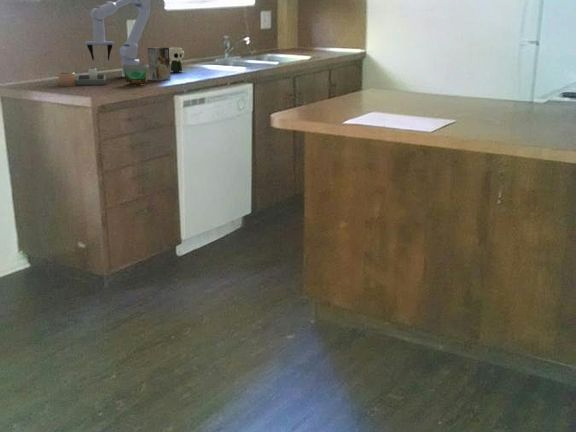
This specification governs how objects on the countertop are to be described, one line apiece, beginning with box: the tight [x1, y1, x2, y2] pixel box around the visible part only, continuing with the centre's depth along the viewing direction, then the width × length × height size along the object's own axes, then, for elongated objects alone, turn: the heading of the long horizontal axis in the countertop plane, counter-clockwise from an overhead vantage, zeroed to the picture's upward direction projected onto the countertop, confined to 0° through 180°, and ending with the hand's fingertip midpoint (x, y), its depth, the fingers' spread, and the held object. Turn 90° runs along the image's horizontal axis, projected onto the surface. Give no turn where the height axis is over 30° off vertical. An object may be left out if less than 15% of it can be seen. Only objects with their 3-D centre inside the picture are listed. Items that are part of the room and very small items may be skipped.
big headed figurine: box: [168, 47, 185, 73], centre depth 406 cm, size 11×7×13 cm, turn 129°
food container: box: [121, 63, 149, 86], centre depth 355 cm, size 12×6×10 cm, turn 117°
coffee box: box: [147, 46, 171, 81], centre depth 375 cm, size 9×6×16 cm
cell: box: [88, 66, 98, 80], centre depth 366 cm, size 4×4×7 cm
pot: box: [57, 71, 77, 87], centre depth 353 cm, size 8×8×6 cm
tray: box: [76, 74, 107, 86], centre depth 365 cm, size 14×20×2 cm
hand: (100, 59), depth 377 cm, fingers open, 7 cm apart
